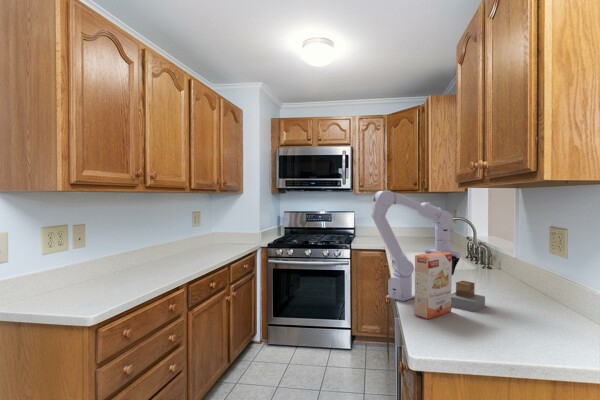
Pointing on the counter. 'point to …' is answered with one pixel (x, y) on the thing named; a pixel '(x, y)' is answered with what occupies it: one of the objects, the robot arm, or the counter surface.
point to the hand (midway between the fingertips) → (442, 273)
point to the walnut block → (465, 289)
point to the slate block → (468, 302)
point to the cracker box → (433, 284)
